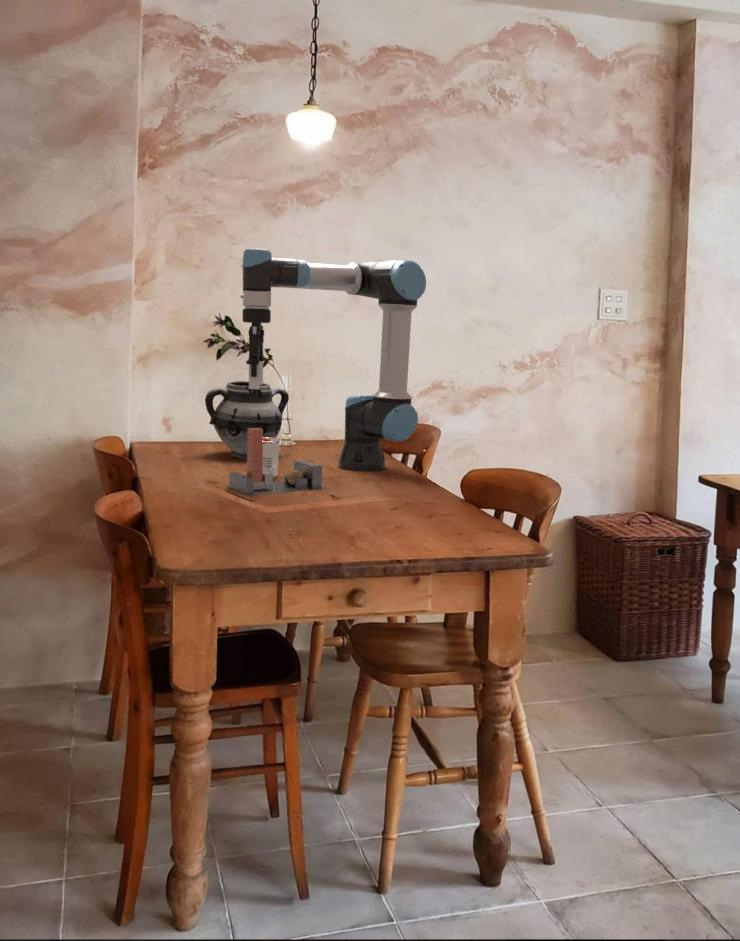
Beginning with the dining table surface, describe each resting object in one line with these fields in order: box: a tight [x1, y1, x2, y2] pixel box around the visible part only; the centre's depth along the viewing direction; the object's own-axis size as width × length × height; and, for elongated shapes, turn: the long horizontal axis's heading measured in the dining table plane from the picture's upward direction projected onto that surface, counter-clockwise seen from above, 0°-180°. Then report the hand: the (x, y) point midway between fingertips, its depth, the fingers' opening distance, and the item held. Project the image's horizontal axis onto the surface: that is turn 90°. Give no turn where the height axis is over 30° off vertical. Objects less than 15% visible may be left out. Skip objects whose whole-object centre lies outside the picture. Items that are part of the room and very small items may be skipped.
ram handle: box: [246, 428, 274, 490], centre depth 246 cm, size 7×4×16 cm, turn 125°
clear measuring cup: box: [262, 437, 281, 478], centre depth 268 cm, size 10×8×12 cm
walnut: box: [286, 469, 303, 486], centre depth 254 cm, size 4×4×4 cm
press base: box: [225, 459, 328, 502], centre depth 251 cm, size 24×14×8 cm, turn 125°
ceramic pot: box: [204, 380, 290, 460], centre depth 308 cm, size 29×23×25 cm
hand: (256, 387), depth 253 cm, fingers open, 13 cm apart
